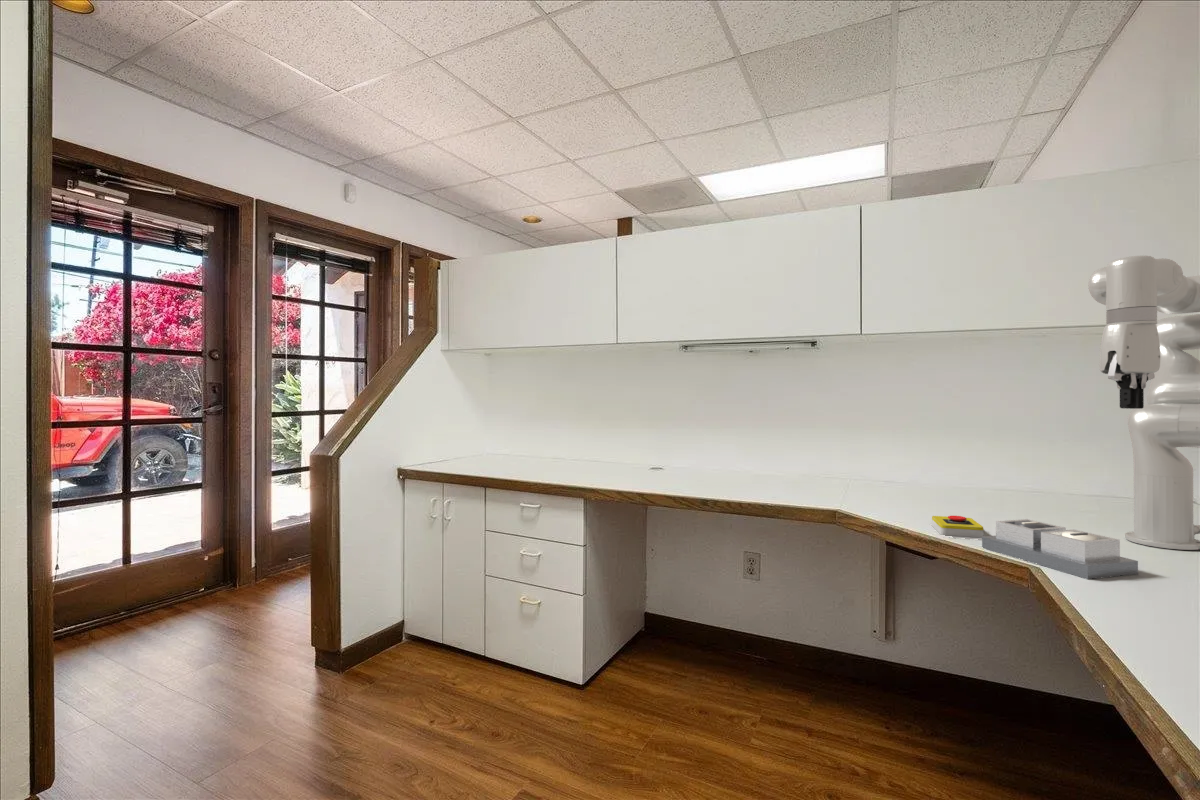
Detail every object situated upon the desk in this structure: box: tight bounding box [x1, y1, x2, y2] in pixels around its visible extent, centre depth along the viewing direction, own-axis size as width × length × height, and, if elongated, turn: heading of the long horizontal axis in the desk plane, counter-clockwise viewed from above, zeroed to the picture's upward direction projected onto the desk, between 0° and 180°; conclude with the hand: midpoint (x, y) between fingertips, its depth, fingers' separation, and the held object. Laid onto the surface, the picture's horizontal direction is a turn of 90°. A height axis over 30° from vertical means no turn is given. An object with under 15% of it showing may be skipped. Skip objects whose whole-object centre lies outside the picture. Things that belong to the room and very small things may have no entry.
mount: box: [981, 518, 1139, 580], centre depth 114 cm, size 12×22×6 cm, turn 12°
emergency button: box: [930, 515, 985, 541], centre depth 139 cm, size 9×4×15 cm
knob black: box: [1015, 521, 1045, 529], centre depth 119 cm, size 5×5×6 cm
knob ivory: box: [1062, 532, 1097, 541], centre depth 110 cm, size 5×5×6 cm
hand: (1131, 408), depth 114 cm, fingers closed
